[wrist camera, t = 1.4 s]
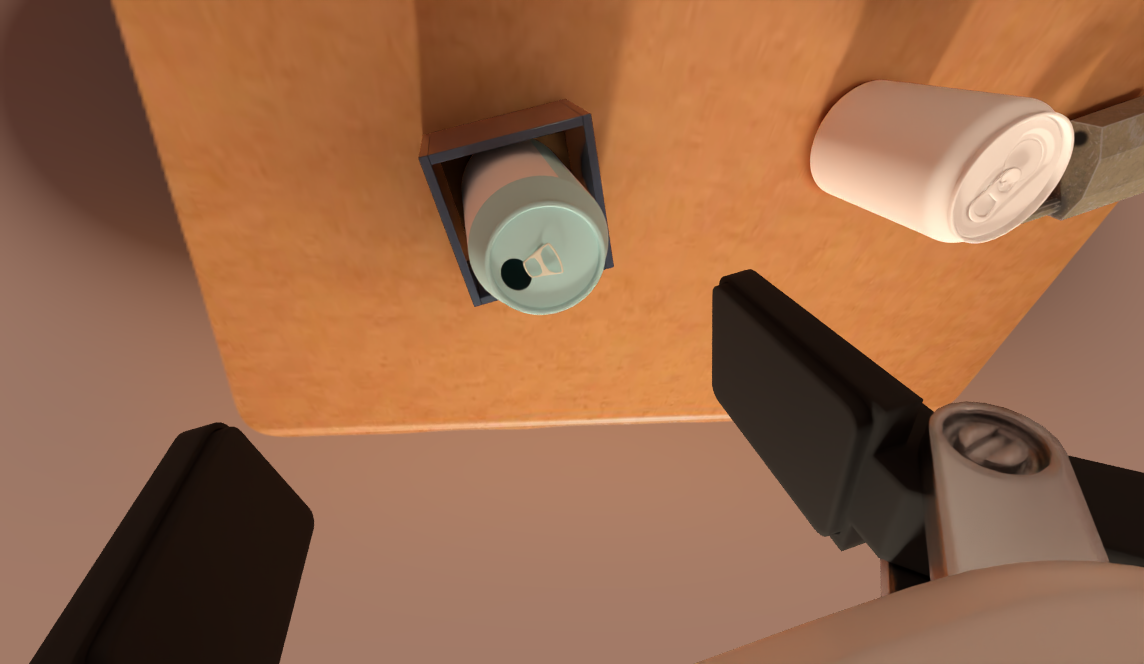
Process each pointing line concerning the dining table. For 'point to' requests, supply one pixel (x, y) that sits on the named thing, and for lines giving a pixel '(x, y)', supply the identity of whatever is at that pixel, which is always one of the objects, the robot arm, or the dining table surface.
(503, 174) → the can
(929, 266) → the dining table surface
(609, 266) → the holder
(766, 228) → the dining table surface
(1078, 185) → the padlock
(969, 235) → the beverage can
